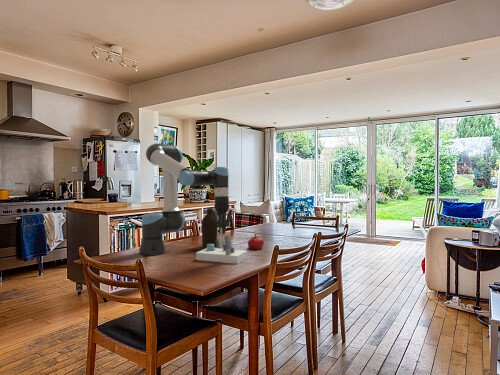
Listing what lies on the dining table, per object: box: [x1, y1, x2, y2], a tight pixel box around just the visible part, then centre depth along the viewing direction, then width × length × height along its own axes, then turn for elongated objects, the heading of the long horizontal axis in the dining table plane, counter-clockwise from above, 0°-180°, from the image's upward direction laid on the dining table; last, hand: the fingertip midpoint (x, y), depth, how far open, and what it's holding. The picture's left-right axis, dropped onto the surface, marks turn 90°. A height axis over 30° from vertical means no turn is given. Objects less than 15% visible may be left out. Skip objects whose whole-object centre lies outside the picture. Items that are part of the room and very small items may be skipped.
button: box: [207, 244, 215, 251], centre depth 189 cm, size 4×4×5 cm
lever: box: [223, 232, 233, 252], centre depth 180 cm, size 2×4×10 cm, turn 160°
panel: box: [195, 246, 248, 265], centre depth 185 cm, size 24×14×7 cm, turn 70°
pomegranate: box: [247, 233, 264, 250], centre depth 213 cm, size 10×10×9 cm
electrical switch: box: [215, 236, 226, 249], centre depth 203 cm, size 9×5×9 cm, turn 141°
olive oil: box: [200, 207, 219, 249], centre depth 219 cm, size 11×11×25 cm
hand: (222, 240), depth 181 cm, fingers closed
